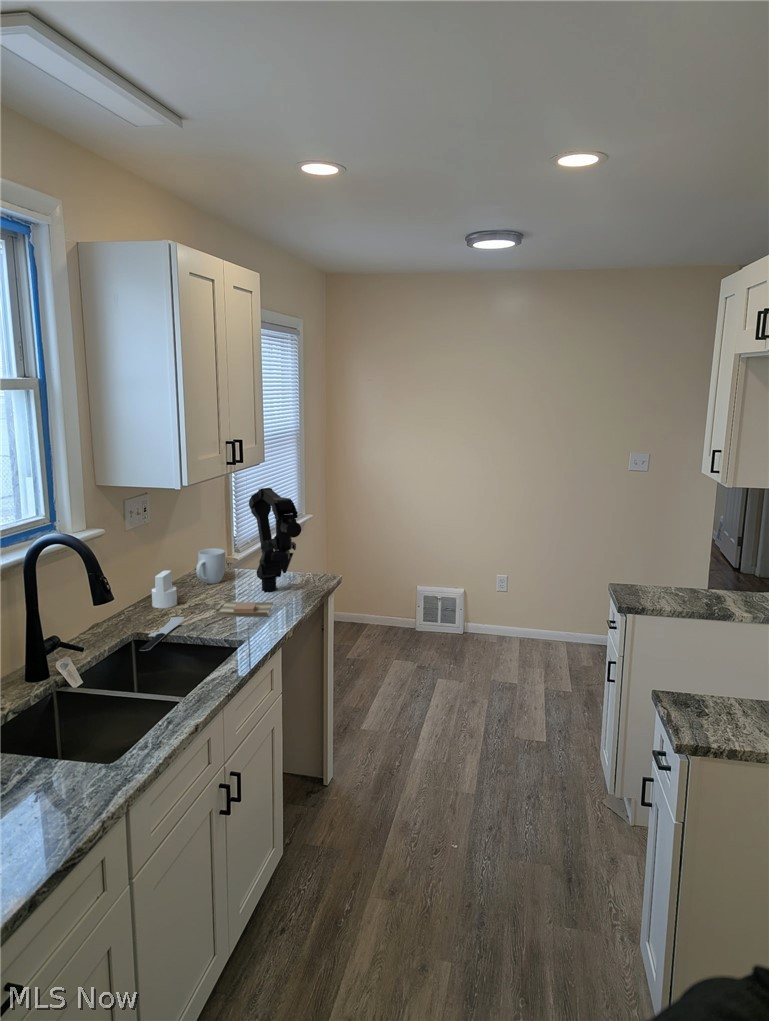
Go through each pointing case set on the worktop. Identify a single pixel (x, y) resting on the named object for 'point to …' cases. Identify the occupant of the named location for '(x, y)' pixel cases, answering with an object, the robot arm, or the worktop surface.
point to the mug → (211, 565)
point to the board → (260, 611)
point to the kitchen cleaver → (161, 633)
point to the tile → (245, 607)
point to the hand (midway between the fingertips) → (284, 572)
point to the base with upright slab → (164, 591)
